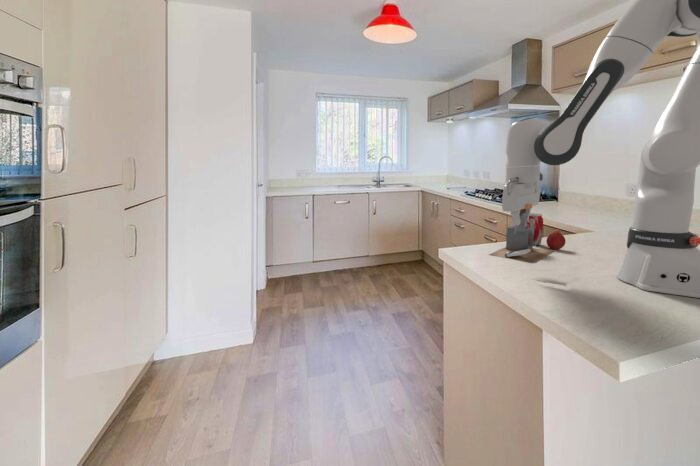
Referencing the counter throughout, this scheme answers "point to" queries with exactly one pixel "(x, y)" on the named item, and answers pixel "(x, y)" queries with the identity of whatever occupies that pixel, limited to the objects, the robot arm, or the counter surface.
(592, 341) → the counter surface
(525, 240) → the socket
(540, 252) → the board
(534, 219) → the soda can
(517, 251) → the keeper
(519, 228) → the pin
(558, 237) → the onion
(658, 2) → the robot arm
